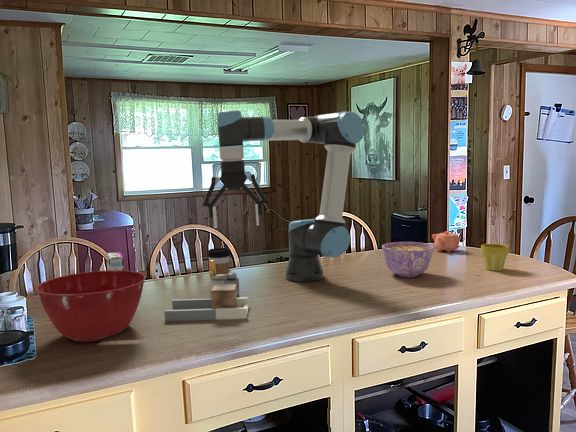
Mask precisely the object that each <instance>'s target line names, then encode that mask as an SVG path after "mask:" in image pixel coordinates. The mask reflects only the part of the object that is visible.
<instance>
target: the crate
mask: <svg viewBox="0 0 576 432" xmlns="http://www.w3.org/2000/svg"><path fill="white" fill-rule="evenodd" d="M210 295H211V296H210V297H211V299H212V309H214V308H237V284H216V285H213V288H212V289H211V290H210Z"/></svg>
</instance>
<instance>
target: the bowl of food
mask: <svg viewBox="0 0 576 432" xmlns="http://www.w3.org/2000/svg"><path fill="white" fill-rule="evenodd" d="M381 248H382V253H383V256H384V261H385V264H386V265H385V266H386V267H387V268H388V270H389V271H390V272H392V273H393V274H396V275H397V276H398V277H402V278H415V277H417V276H419V275H421V274H423V273H425V272H426V271H427V270H428V268H429V266H430V263H431V260H432V255H433V252H434V249H435V246H433V245H432V244H430V243H424V242H417V241H416V242H415V241H395V242H388V243H384V244H382V245H381Z"/></svg>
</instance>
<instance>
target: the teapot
mask: <svg viewBox="0 0 576 432" xmlns="http://www.w3.org/2000/svg"><path fill="white" fill-rule="evenodd" d="M431 237H432V240H434V244H433V245H434V249H435V250H437V252H440V253H441V252H443V251H446V253H448V254H452V252H456V250H457V249H459V248H460V245H459V243H460V241H461V240H460V239H461V238H460V236H459V235H457V233H452V232H450V231H448V230H447V231H444V232H440V233H437V234H436V233H433V234H431Z"/></svg>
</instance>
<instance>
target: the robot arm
mask: <svg viewBox="0 0 576 432" xmlns="http://www.w3.org/2000/svg"><path fill="white" fill-rule="evenodd" d="M216 120H217V121H216V122H217V125H216V127H217V132H218V135H217V136H218V143H219V144H218V145H219V147H218V148H219V158H220V176H215V175H213V176H212V177H211V182H210V186H209V189H208V190H207V193H206V196H205V199H204V200H203V202H202V204H203V207H207V208H208V209H209V210H208V211H209V217H210V218H213V219H212V220H213V228H214V229H217V228H218V217H217V207H216V206H214V205H215V204H216V203H217V202H218V201H219V199H220V198H221V196H222V195H223V194H224V192H225V191H226V189H227V190H229V191H230V190H231V191H232V190H240V189H242V190H243V191H244V192H245V193H246V194H247V195H248V196H249V197H250V198H251V199H252V200H253V201H254V203H256V204H255V207H254V208H255V219H256V220H255V221H256V226H260V217H259V216H261V215H262V214H263V211H262V210H263V208H262V205H263V204H266V203H267V198H266V196H265V194H264V192H263V191H262V189H261V187H260V186H259V184H258V182H257V180H256V176H255V174H254V173H252V174H249V175H246V168H245V167H246V166H245V161H244V158H245V153H244V151H245V150H244V142H259V141H260V142H262V141H264V142H266V141H271V142H273V141H299V142H300V143H312V144H313V143H314V144H321V145H324V148H325V150H326V151H327V155H326V161H325V170H324V178H323V184H322V191H321V192H322V193H321V201H320V207H319V214H318V216H316V217H315V218H312V219H311V218H310V219H300V220H293V221H291V222H289V224H288V231H287V232H288V249H289V250H288V252H289V253H288V255H289V259H288V262H287V266H286V269H285V275H284V276H285V279H286V280H288V281H292V282H315V281H319V280H322V279H323V278H324V269H323V267H322V263H321V261H320V257H319V256H323V257H325V258H338V257H340V256H342V255H343V254H344V253H345V252H346V251H347V249H348V248H349V246H350V242H351V234H350V232H349V230H348V229H347V228H346V220H345V219H344V218H343V213H344V207H345V198H346V190H347V183H348V175H349V169H350V160H351V154H352V153H353V152H355V151H356V147H357V144H358V143H360V142H361V141H362V139H363V138H364V135H365V125H364V122H363V120H362V119H361V117H360V115H359V114H357V113H356V112H353V111H340V112H333V113H332V112H331V113H324V114H317V115H314V116H307V117H306V116H304V117H303V116H302V117H300V118H299V119H272V118H271V117H269V116H248V117H246V116H243V115H242V112H241V110H238V109H237V110H235V109H233V110H231V109H230V110H228V109H227V110H221V111H219V112H218V113H217V119H216ZM247 180H248V181H249V182H251V183H252V185H253V187H254V189H255V190H256V192H257V193H258V195H259V197H260V198H259V197H258V196H256V195H255V194H254V192H253V191H252V190H251V189H250V188H249V187H248V186H247V185H246V184H245V183H246V182H247ZM219 181H220V182H221V183H222V187H221V188H220V190H219V191H218V192H217V194H216V195H215V197H214V198H213V199H212V201H211V202H210V199H211V197H212V194H213V193H214V190H215V187H216V185H217V184H218V183H219Z"/></svg>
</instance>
